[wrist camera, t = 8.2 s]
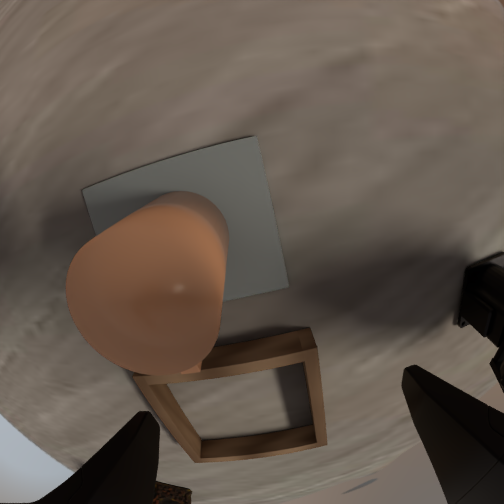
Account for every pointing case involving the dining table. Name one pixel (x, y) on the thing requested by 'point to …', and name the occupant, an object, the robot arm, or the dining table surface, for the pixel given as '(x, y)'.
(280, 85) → the dining table surface
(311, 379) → the wooden picture frame
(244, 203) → the pad
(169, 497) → the candle
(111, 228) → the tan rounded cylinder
